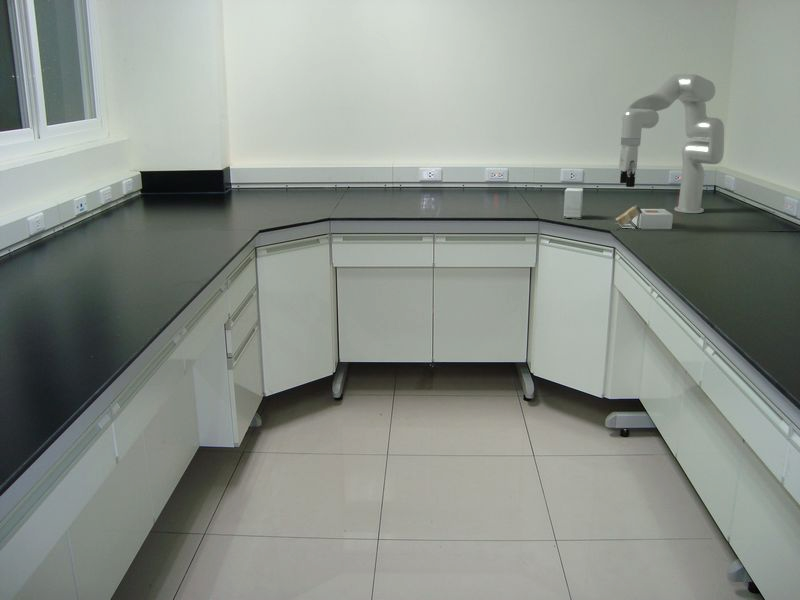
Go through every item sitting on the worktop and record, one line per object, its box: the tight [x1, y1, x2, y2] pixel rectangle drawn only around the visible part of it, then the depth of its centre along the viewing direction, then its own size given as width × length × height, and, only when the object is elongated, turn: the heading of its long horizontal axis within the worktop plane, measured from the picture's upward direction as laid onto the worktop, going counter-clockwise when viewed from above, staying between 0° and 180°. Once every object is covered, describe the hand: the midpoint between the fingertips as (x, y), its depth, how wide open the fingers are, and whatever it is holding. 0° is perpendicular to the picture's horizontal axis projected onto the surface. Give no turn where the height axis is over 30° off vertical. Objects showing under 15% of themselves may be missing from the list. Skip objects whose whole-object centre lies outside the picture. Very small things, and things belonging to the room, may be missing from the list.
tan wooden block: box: [615, 204, 642, 227], centre depth 302 cm, size 3×3×10 cm
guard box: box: [631, 208, 674, 230], centre depth 305 cm, size 12×13×6 cm
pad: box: [622, 223, 636, 230], centre depth 304 cm, size 8×8×1 cm
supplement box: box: [563, 187, 584, 218], centre depth 322 cm, size 7×7×13 cm
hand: (626, 184), depth 299 cm, fingers open, 9 cm apart
